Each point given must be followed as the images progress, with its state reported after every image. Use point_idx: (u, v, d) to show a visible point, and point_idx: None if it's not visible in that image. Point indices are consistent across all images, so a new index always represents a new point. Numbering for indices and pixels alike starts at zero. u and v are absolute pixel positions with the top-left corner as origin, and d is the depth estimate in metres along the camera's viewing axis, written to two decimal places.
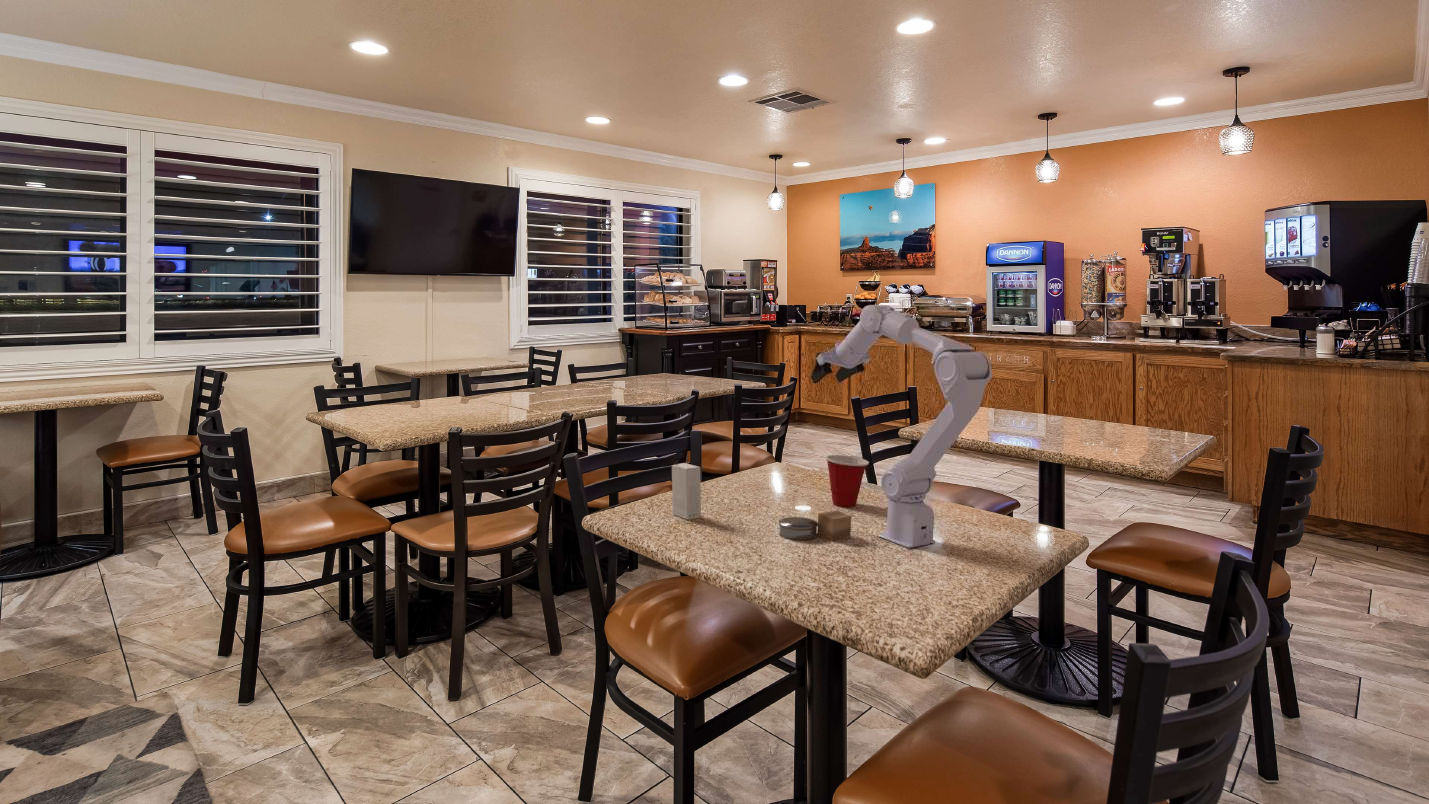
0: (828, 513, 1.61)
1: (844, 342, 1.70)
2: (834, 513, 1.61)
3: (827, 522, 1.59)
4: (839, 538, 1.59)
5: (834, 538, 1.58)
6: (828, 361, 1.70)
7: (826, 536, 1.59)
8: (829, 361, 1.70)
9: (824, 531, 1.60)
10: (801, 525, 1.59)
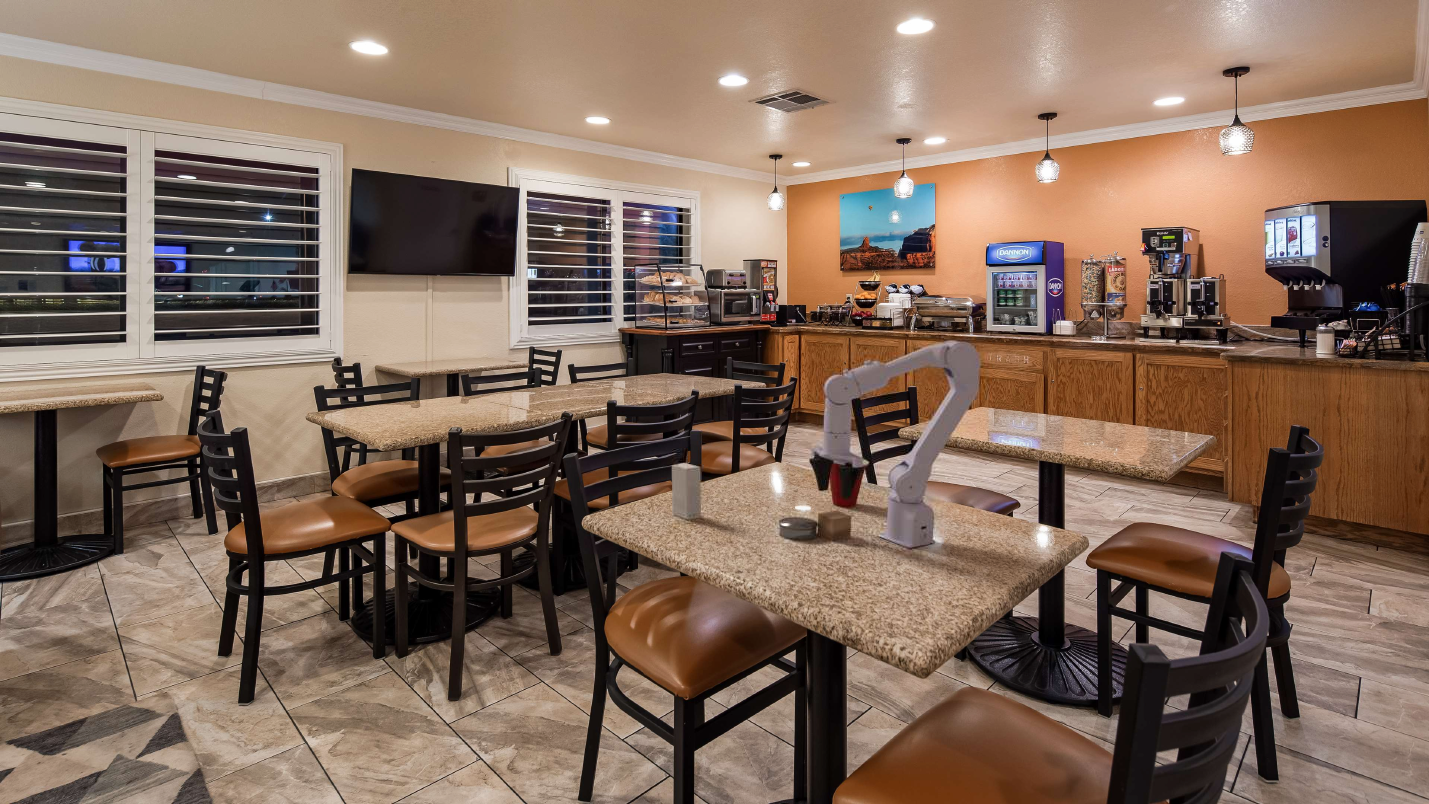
0: (828, 513, 1.61)
1: (841, 436, 1.56)
2: (834, 513, 1.61)
3: (827, 522, 1.59)
4: (839, 538, 1.59)
5: (834, 538, 1.58)
6: None
7: (826, 536, 1.59)
8: None
9: (824, 531, 1.60)
10: (801, 525, 1.59)
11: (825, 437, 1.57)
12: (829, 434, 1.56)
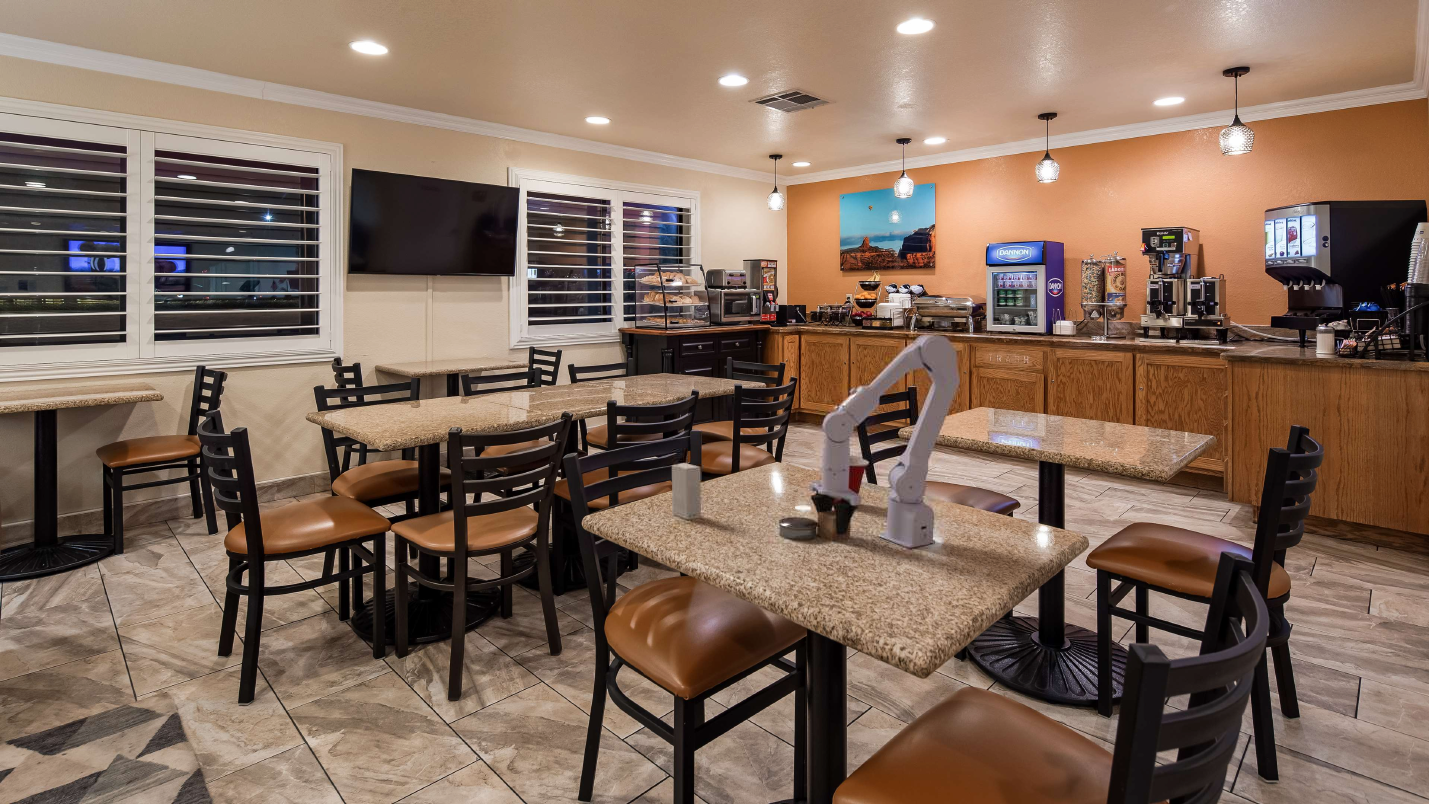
0: (828, 512, 1.61)
1: (840, 474, 1.57)
2: (834, 512, 1.62)
3: (827, 521, 1.59)
4: (839, 537, 1.59)
5: (834, 537, 1.58)
6: None
7: (826, 535, 1.59)
8: None
9: (824, 531, 1.60)
10: (801, 525, 1.59)
11: (824, 474, 1.58)
12: (828, 471, 1.57)
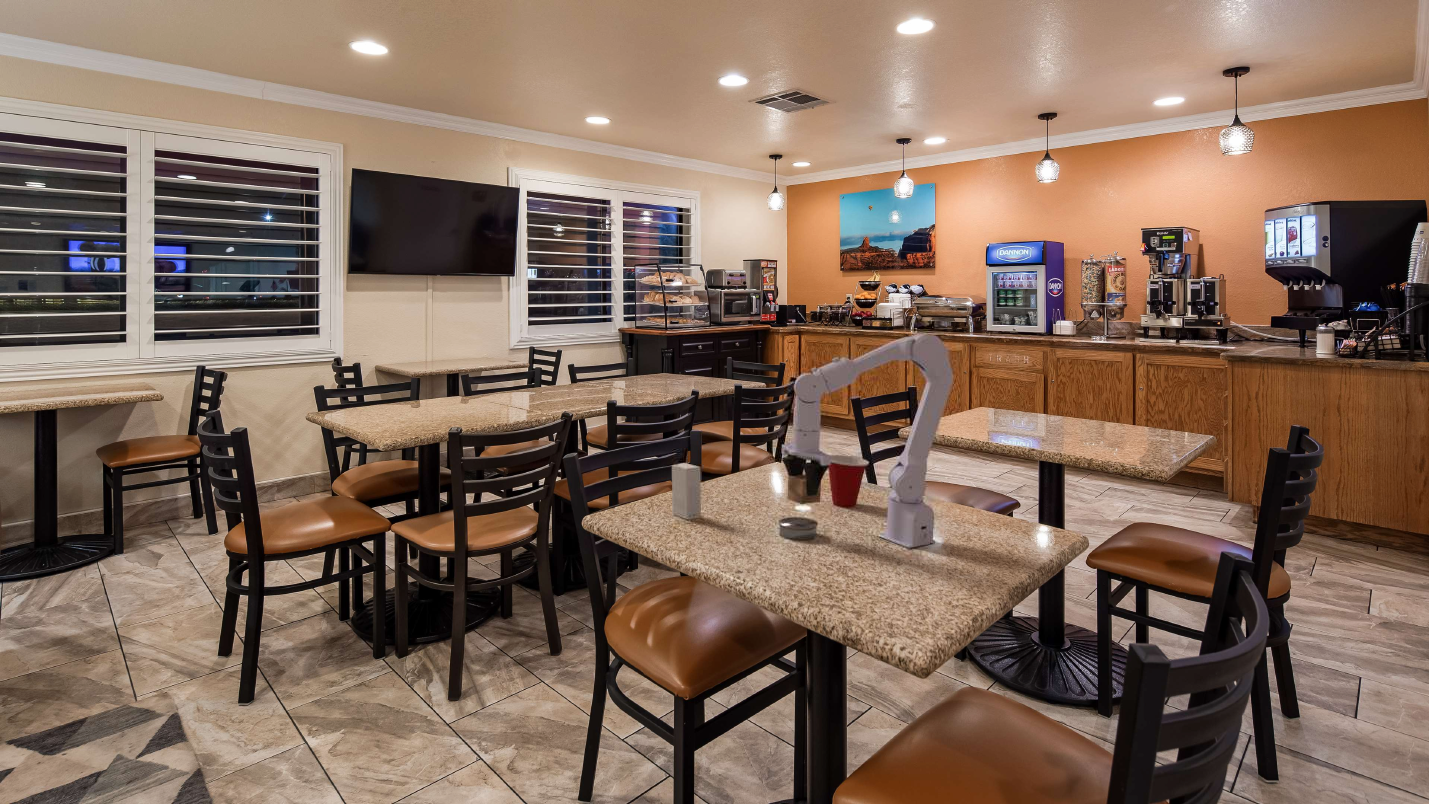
0: (798, 476, 1.61)
1: (810, 434, 1.56)
2: (804, 476, 1.61)
3: (797, 484, 1.58)
4: (809, 501, 1.58)
5: (803, 500, 1.58)
6: None
7: (796, 499, 1.59)
8: None
9: (794, 494, 1.59)
10: (801, 525, 1.59)
11: (794, 435, 1.58)
12: (798, 432, 1.57)
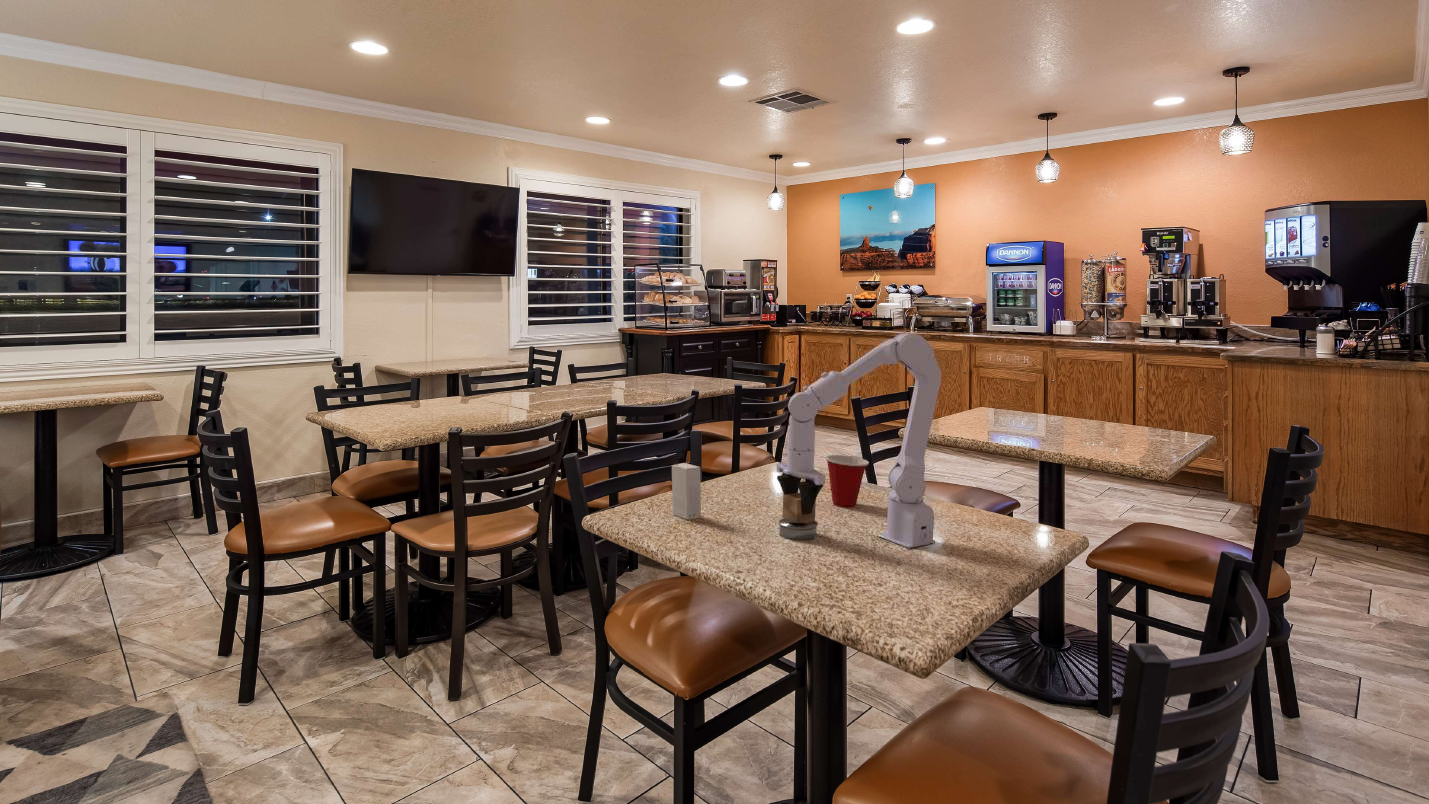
0: (793, 495, 1.62)
1: (804, 453, 1.57)
2: (799, 495, 1.62)
3: (792, 503, 1.59)
4: (803, 519, 1.59)
5: (798, 519, 1.58)
6: None
7: (791, 517, 1.60)
8: None
9: (789, 513, 1.60)
10: (801, 525, 1.59)
11: (789, 454, 1.59)
12: (792, 451, 1.57)
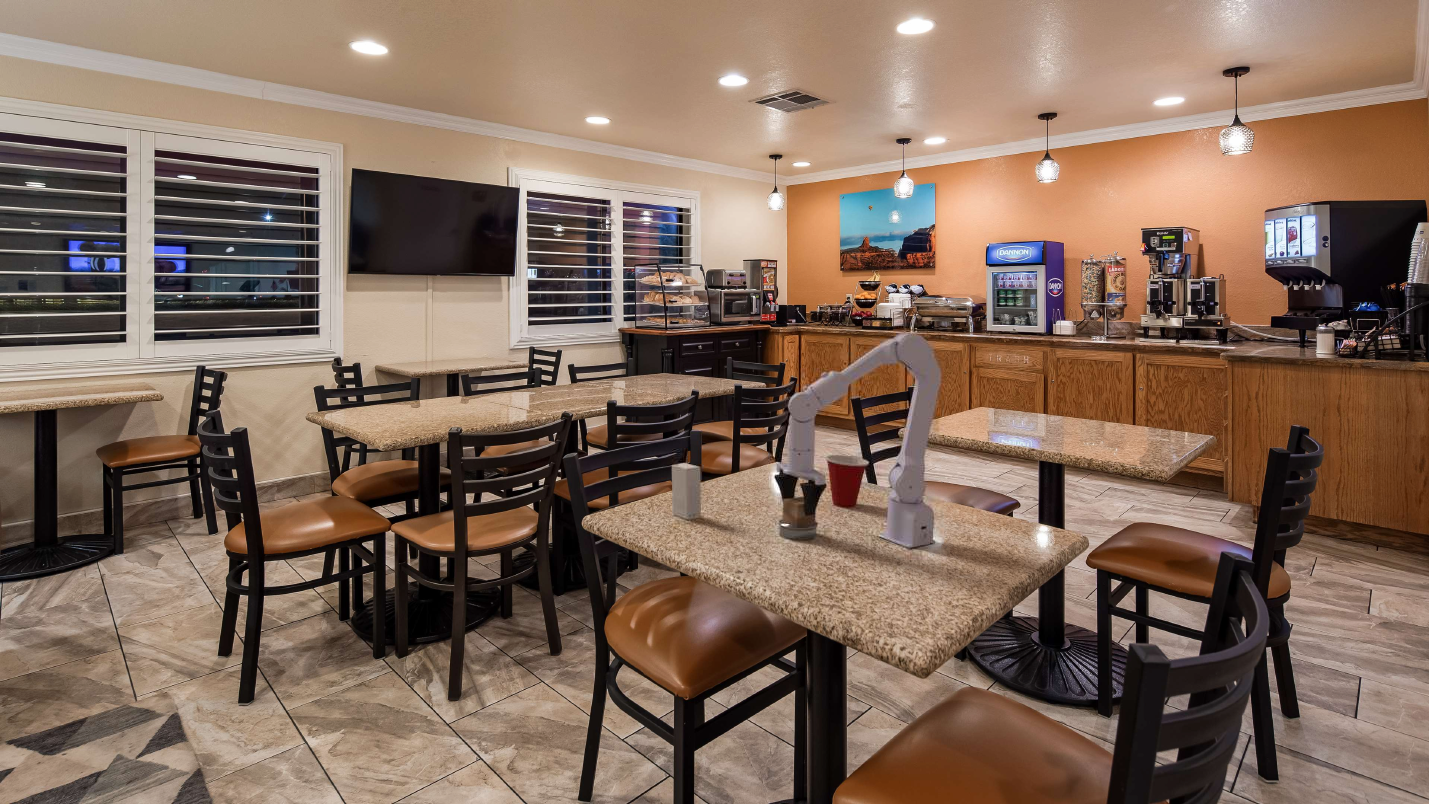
0: (793, 499, 1.62)
1: (804, 453, 1.57)
2: (799, 499, 1.62)
3: (792, 508, 1.59)
4: (804, 524, 1.59)
5: (799, 524, 1.58)
6: None
7: (791, 522, 1.60)
8: None
9: (789, 517, 1.60)
10: None
11: (789, 454, 1.59)
12: (792, 451, 1.57)
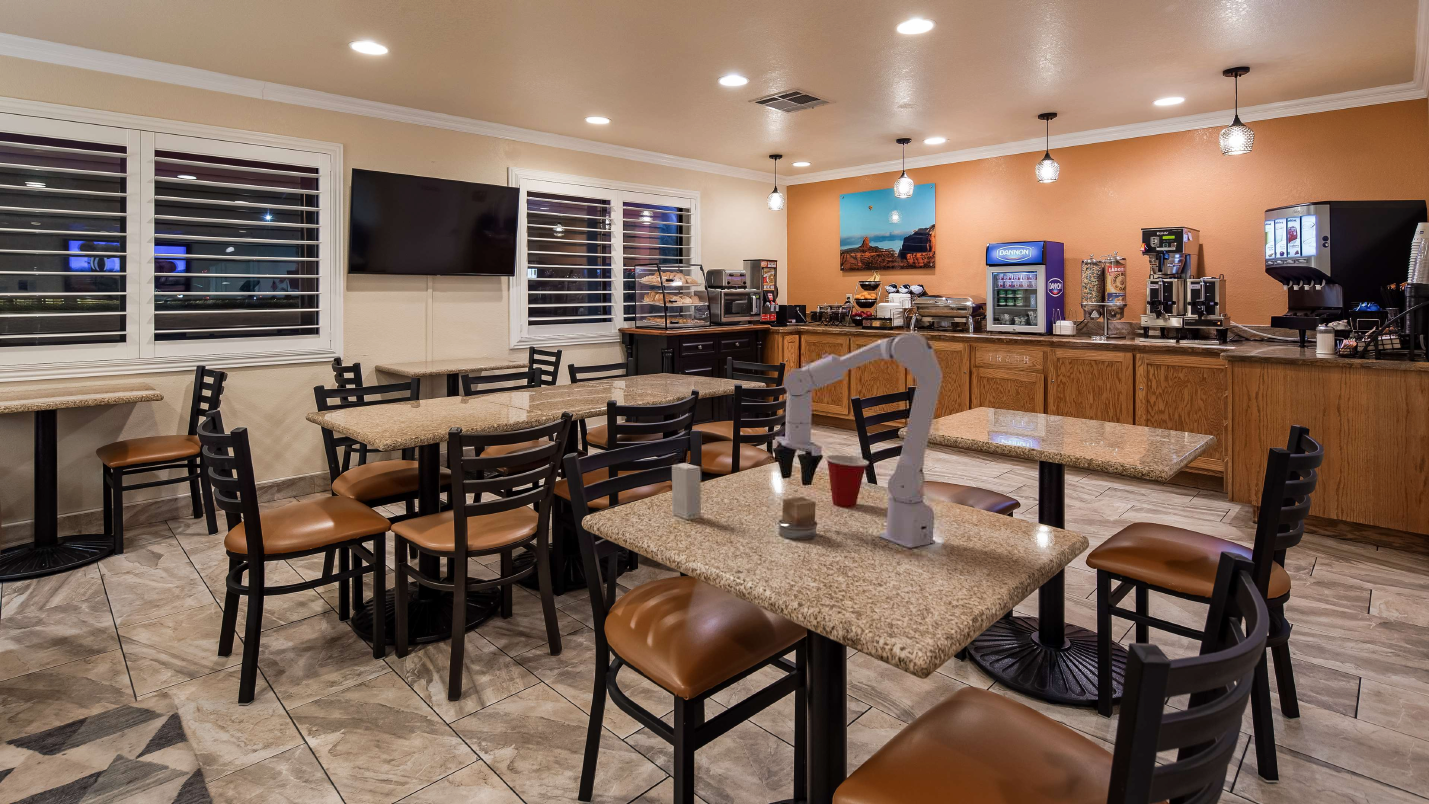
0: (793, 499, 1.62)
1: (802, 426, 1.65)
2: (799, 499, 1.62)
3: (792, 507, 1.59)
4: (803, 524, 1.59)
5: (798, 523, 1.58)
6: None
7: (790, 522, 1.60)
8: None
9: (788, 517, 1.60)
10: None
11: (787, 427, 1.66)
12: (790, 424, 1.65)
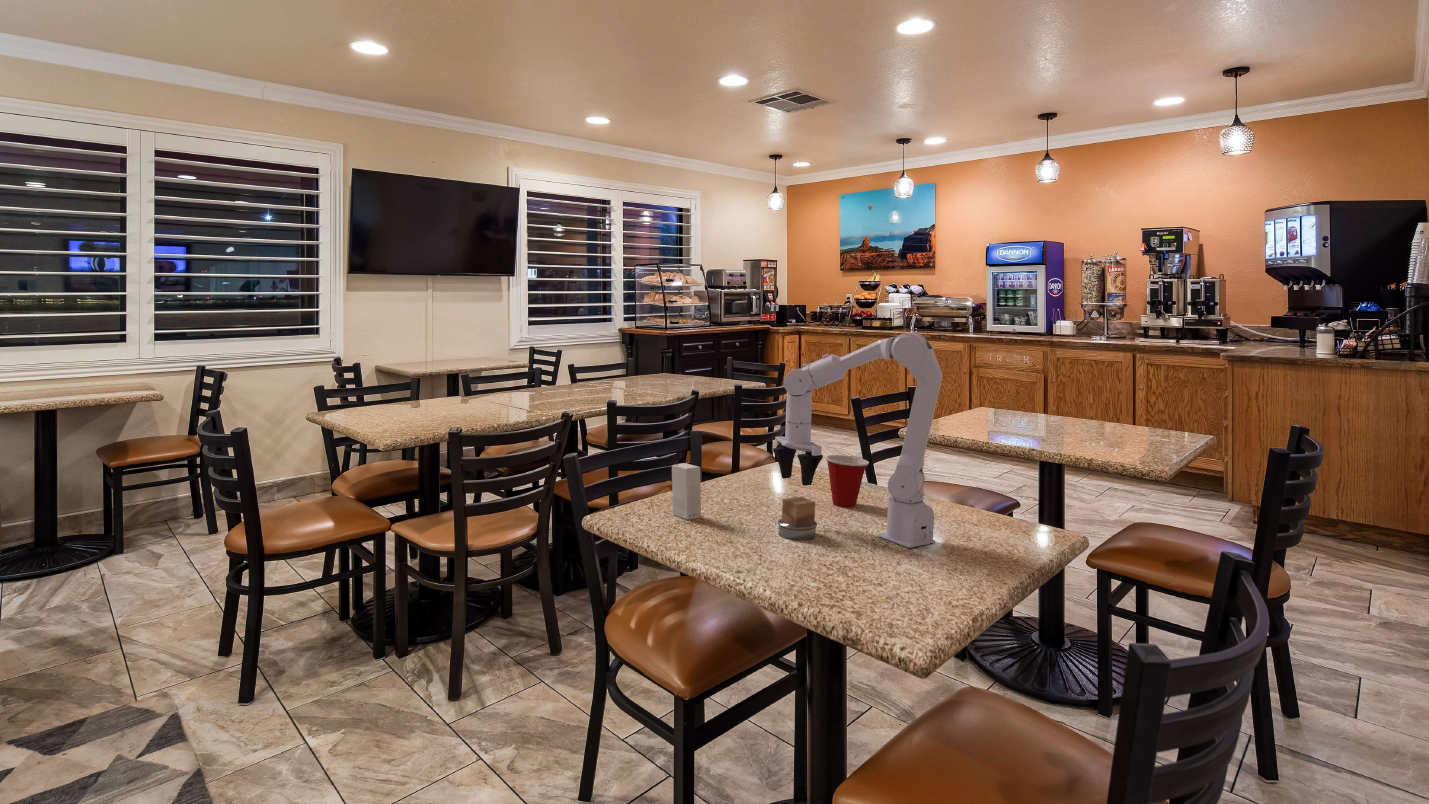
0: (792, 499, 1.62)
1: (802, 426, 1.65)
2: (798, 499, 1.62)
3: (791, 507, 1.59)
4: (803, 523, 1.59)
5: (798, 523, 1.58)
6: None
7: (790, 522, 1.60)
8: None
9: (788, 517, 1.60)
10: None
11: (787, 427, 1.66)
12: (790, 424, 1.65)
